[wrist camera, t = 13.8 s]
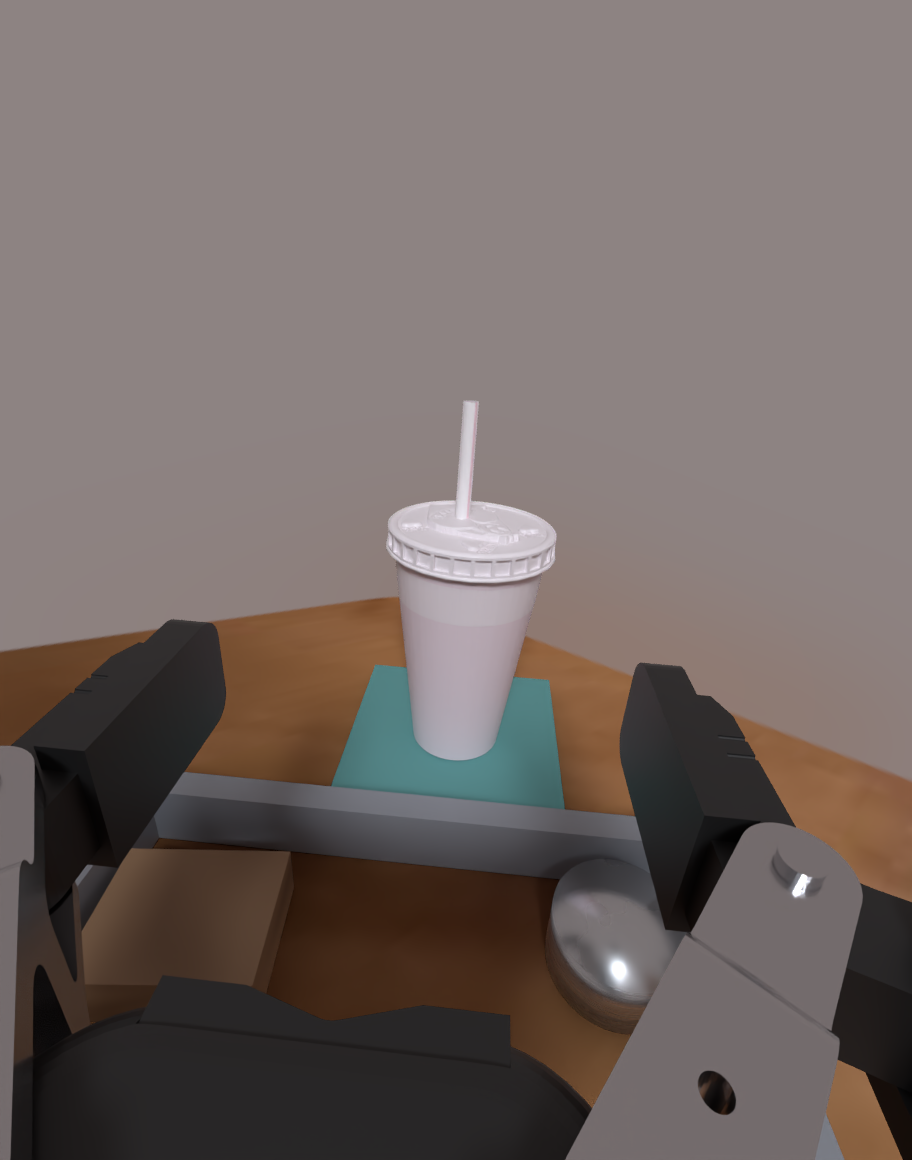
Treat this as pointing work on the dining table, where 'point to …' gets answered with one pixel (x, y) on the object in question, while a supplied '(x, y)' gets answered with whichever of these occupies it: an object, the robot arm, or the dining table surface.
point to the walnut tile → (184, 923)
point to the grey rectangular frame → (388, 835)
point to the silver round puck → (608, 942)
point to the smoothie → (465, 606)
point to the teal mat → (502, 775)
